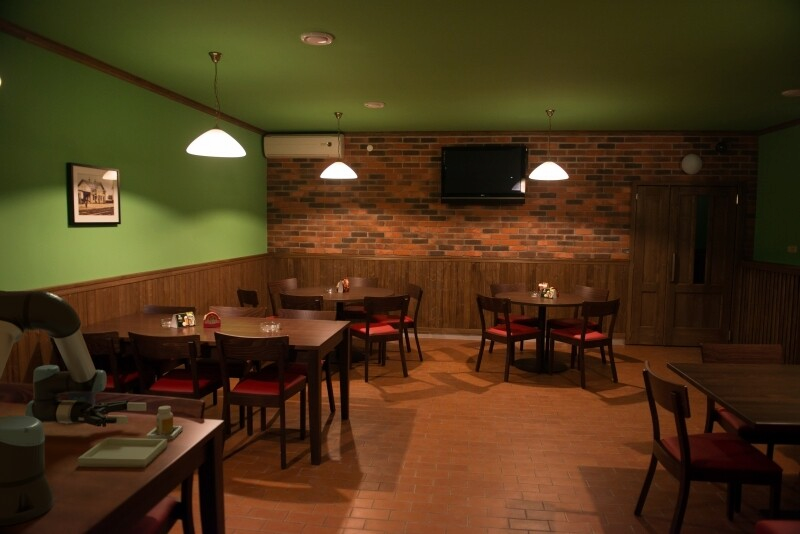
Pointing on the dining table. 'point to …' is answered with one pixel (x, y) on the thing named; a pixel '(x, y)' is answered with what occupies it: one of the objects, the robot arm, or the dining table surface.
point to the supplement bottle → (164, 420)
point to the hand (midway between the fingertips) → (137, 413)
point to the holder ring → (153, 434)
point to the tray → (123, 452)
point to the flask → (83, 397)
